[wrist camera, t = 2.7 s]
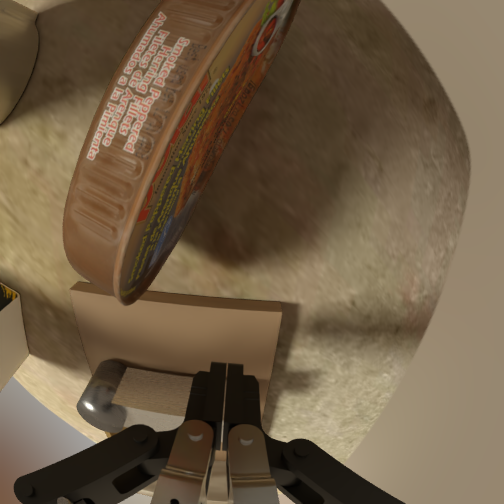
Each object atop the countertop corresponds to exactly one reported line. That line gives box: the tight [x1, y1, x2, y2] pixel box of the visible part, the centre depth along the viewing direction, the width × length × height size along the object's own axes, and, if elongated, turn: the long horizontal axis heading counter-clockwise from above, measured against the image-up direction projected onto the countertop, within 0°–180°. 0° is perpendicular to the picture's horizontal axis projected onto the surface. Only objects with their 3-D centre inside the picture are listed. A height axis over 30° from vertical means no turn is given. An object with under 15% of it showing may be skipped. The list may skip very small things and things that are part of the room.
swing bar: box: [77, 360, 227, 442], centre depth 15 cm, size 11×3×4 cm, turn 85°
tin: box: [63, 0, 300, 306], centre depth 9 cm, size 15×3×8 cm, turn 153°
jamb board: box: [69, 282, 282, 504], centre depth 17 cm, size 20×13×6 cm, turn 175°
